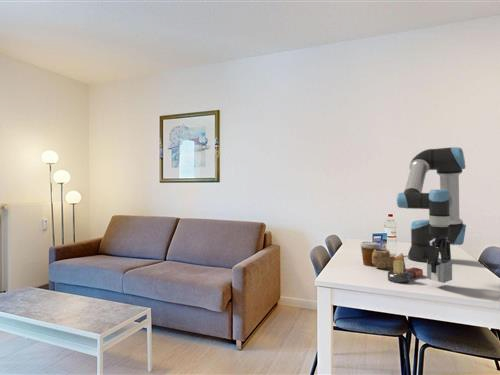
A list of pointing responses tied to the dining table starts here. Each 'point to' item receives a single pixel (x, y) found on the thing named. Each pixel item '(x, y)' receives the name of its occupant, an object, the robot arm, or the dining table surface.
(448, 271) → the grey upright box
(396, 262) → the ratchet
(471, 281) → the dining table surface
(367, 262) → the disposable coffee cup
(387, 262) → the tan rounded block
